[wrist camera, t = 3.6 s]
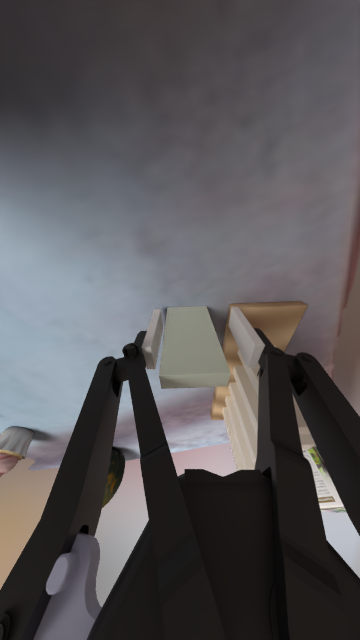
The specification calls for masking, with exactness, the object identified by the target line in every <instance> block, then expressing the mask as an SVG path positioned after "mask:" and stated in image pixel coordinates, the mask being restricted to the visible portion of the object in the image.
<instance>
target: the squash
mask: <svg viewBox="0 0 360 640" xmlns="http://www.w3.org/2000/svg"><path fill="white" fill-rule="evenodd" d="M124 468H125V458H124V455H123V454H122V453H121V452H120V451H116V450H114V449H113V450H112V451H111V457H110V463H109V469H108V475H107V481H106V487H105V493H104V499H103V504H102V508H103V507H104V506H105V505H106V504H107V503H108V502H109V501H110V500H111V499H112V497H113V496H114V494H115V493H116V491H117V489H118V488H119V486H120V483H121V481H122V478H123V474H124Z"/></svg>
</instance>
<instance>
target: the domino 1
mask: <svg viewBox="0 0 360 640" xmlns="http://www.w3.org/2000/svg"><path fill="white" fill-rule="evenodd" d="M230 374H231V372H230V370H229V367H228V364H227V361H226V359H225V356H224V353H223V351H222V348H221V345H220V342H219V340H218V337H217V334H216V331H215V329H214V326H213V323H212V320H211V318H210V315H209V312H208V310H207V307H206V306H197V307H171V308H167V315H166V324H165V332H164V340H163V348H162V356H161V364H160V372H159V378H160V383H161V388H162V389H166V388H195V387H223V386H228V382H229V378H230Z"/></svg>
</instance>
